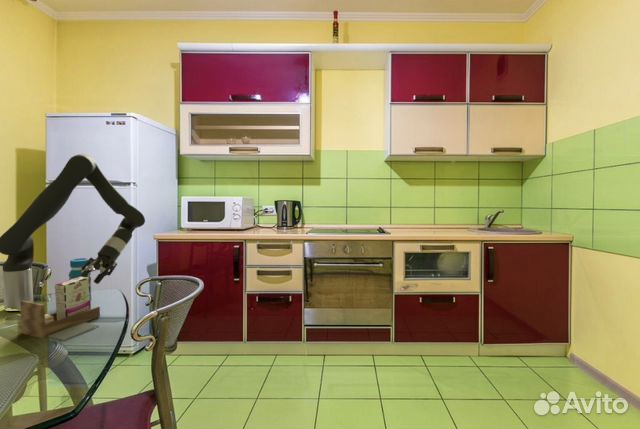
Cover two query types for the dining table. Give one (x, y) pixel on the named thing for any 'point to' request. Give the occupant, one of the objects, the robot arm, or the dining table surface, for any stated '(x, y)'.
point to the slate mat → (73, 331)
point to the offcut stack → (48, 319)
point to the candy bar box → (72, 297)
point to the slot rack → (36, 323)
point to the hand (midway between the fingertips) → (88, 281)
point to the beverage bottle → (78, 269)
